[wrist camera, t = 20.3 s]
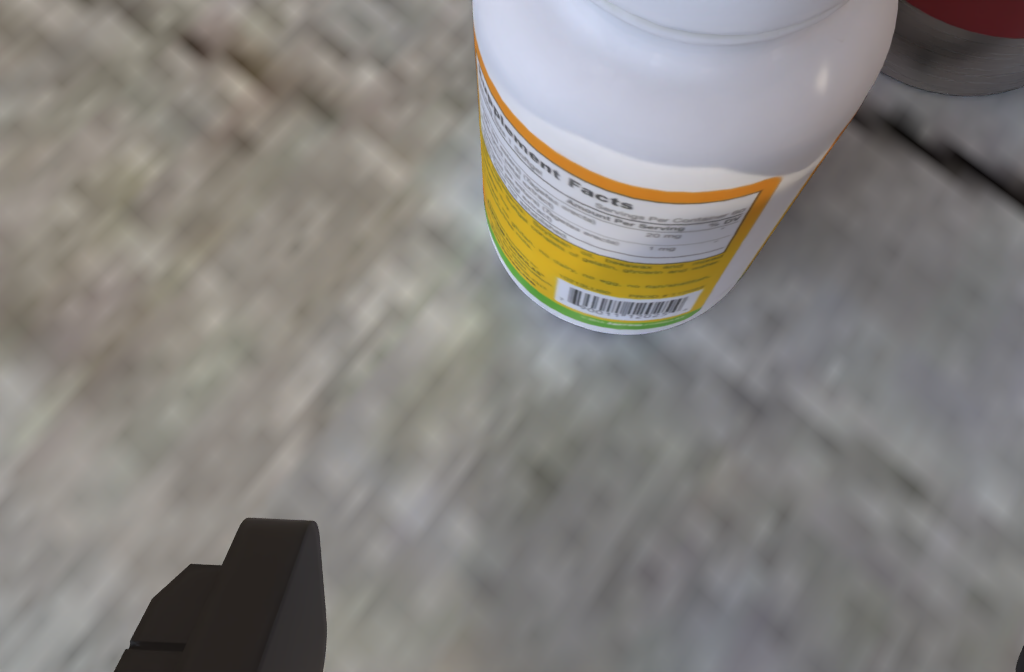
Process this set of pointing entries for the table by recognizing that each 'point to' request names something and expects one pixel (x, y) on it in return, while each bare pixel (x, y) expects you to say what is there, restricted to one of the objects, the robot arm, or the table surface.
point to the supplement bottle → (658, 140)
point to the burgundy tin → (958, 46)
